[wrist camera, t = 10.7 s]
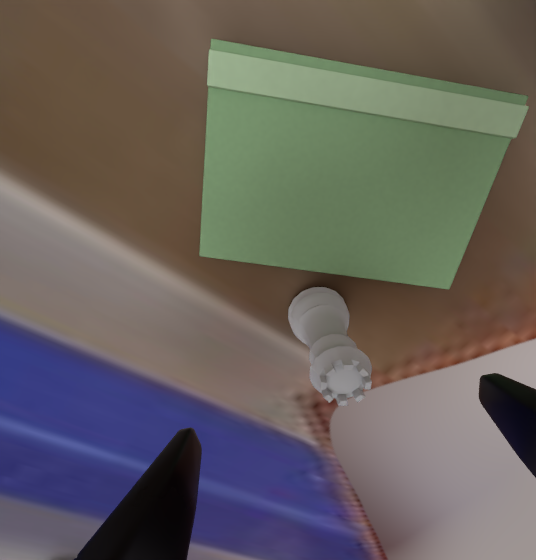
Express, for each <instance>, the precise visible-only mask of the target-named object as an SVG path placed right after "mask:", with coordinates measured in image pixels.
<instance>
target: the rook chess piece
mask: <svg viewBox="0 0 536 560" xmlns="http://www.w3.org/2000/svg"><path fill="white" fill-rule="evenodd" d="M288 320H289V322H290V326H291V328H292V330H293V333H294V335H295V336H296V337H297V338H298V339H300V340H301V341H302V342H303V343H305V344H306V345H308V346H309V348H310V355H309V360H310V362H311V364H312V365H311V367H310V377H309V378H310V380H311V382H312V385H313V387H314V388H316V389H317V390H318V391H319V392H320V393H322V394H323V397H324V398H325V399H326V400H327V401H328V402H329V403H330V402H331V401H332V400H333V398H336V400H337V403H338V406H343V405H344V406H346V405H348V401H347V398H349V397H352V396H354V398H355V400H356V401H357V402H359V401H360V400H361V399H363V398H365V395H364V393H363V391H362V390H363V388H365V389H368V390H370V389H371V383H372V381H371V380H370V376H371V371H372V366H371V363H370V360H369V358H368V357H367V356H366V355H365V354H364V353H363V352H362V351H361V350H358V349H357V346H356V343H355V342H354V341H353V340H352V339H351V338H350V337H348V335H347V329H348V325H349V312H348V309H347V306H346V304H345V302H344V299H343V298H342V297H341V296H340V295H339V294H338V293H337V292H336V291H334V290H331V289H329V288H326V287H313V288H310V289H307V290H305V291H302V292H301V293H300V294H299V295H297V296H296V297H295V298H294V299H293V301H292V303H291V305H290V307H289V311H288Z"/></svg>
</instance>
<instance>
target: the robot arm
mask: <svg viewBox="0 0 536 560" xmlns="http://www.w3.org/2000/svg"><path fill="white" fill-rule="evenodd" d="M479 399H480V402H481V404H482V405H483V407H484V408H485V410H486V411H487V413H488V414H489V415H490V417H491V418H492V420H493V421H494V423H495V424H496V425H497V427H498V428H499V430H500V431H501V433H502V434H503V435H504V437H505V438H506V440H507V441H508V443H509V444H510V445H511V447H512V448H513V450H514V451H515V452H516V454H517V455H518V456H519V458H520V459H521V460H522V461H523V463H524V464H525V465H526V466H527V468H528V469H529V470H530V471H531V472H532V474H533V475H534V476H535V477H536V389H534V388H531V387H529V386H526V385H524V384H521V383H519V382H517V381H514V380H512V379H510V378H507V377H505V376H502V375H500V374H496V373H493V374H488V375H483V376H481V378H480V385H479ZM201 454H202V449H201V444H200V442H199V440H198V437H197V435H196V433H195V431H194V429H193V428H186V429H181V430H179V431H178V432H177V434H176V435H175V436H174V437H173V438H172V440H171V441H170V442H169V443H168V445H167V446H166V447H165V448H164V449H163V451H162V452H161V453H160V454H159V456H158V457H157V458H156V459H155V461H154V462H153V463H152V464H151V465H150V467H149V468H148V469H147V470H146V472H145V473H144V474H143V475H142V476H141V478H140V479H139V480H138V481H137V483H136V484H135V485H134V486H133V487H132V489H131V490H130V491H129V492H128V494H127V495H126V496H125V497H124V499H123V500H122V501H121V502H120V503H119V505H118V506H117V507H116V508H115V510H114V511H113V512H112V513H111V514H110V516H109V517H108V518H107V519H106V521H105V522H104V523H103V524H102V525H101V527H100V528H99V529H98V530H97V532H96V533H95V534H94V535H93V537H92V538H91V539H90V540H89V541H88V543H87V544H86V545H85V546H84V548H83V549H82V550H81V551H80V552H79V554H78V555H77V558H75V559H74V560H187V555H188V549H189V544H190V539H191V533H192V528H193V523H194V517H195V511H196V504H197V495H198V485H199V474H200V464H201Z"/></svg>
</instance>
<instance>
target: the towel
mask: <svg viewBox="0 0 536 560" xmlns="http://www.w3.org/2000/svg"><path fill="white" fill-rule="evenodd" d="M207 86H208V103H207V122H206V140H205V159H204V178H203V196H202V215H201V233H200V252H199V255H200V256H202V257H210V258H217V259H225V260H232V261H240V262H247V263H255V264H262V265H270V266H277V267H284V268H292V269H299V270H307V271H314V272H322V273H329V274H337V275H344V276H352V277H359V278H367V279H374V280H382V281H389V282H397V283H404V284H412V285H419V286H427V287H434V288H442V289H450V286H451V284H452V282H453V279H454V277H455V274H456V272H457V269H458V267H459V265H460V262H461V260H462V257H463V255H464V252H465V250H466V247H467V245H468V243H469V240H470V238H471V235H472V233H473V230H474V228H475V226H476V223H477V221H478V218H479V216H480V213H481V211H482V209H483V206H484V204H485V201H486V199H487V196H488V194H489V191H490V189H491V187H492V184H493V182H494V179H495V177H496V174H497V172H498V170H499V167H500V165H501V162H502V160H503V157H504V155H505V153H506V150H507V148H508V145H509V143H510V140H511V139H512V138H516V137H517V135H518V132H519V130H520V127H521V125H522V123H523V120H524V118H525V115H526V113H527V110H528V108H529V106H525V104H526V101H527V99H528V96H526V95H520V94H515V93H509V92H503V91H498V90H492V89H487V88H481V87H476V86H470V85H465V84H459V83H454V82H448V81H443V80H437V79H432V78H426V77H421V76H415V75H410V74H404V73H399V72H393V71H388V70H382V69H376V68H371V67H365V66H360V65H354V64H349V63H343V62H338V61H332V60H327V59H321V58H316V57H310V56H305V55H299V54H294V53H288V52H283V51H277V50H272V49H266V48H261V47H255V46H249V45H244V44H238V43H233V42H227V41H222V40H216V39H211V47H210V50H209V58H208V77H207Z"/></svg>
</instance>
